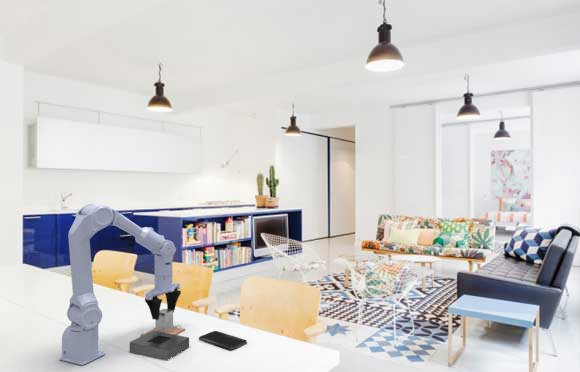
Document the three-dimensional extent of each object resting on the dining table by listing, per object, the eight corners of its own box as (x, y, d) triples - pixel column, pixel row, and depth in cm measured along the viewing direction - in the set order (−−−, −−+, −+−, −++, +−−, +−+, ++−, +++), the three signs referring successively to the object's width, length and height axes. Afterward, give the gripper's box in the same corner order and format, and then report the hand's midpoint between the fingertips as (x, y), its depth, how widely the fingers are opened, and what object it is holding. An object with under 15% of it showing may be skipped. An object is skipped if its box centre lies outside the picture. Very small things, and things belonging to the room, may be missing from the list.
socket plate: (129, 352, 118) (129, 342, 118) (153, 340, 128) (153, 330, 128) (167, 360, 113) (167, 349, 113) (189, 347, 122) (189, 337, 122)
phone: (230, 349, 119) (197, 337, 128) (230, 352, 119) (197, 340, 128) (248, 340, 126) (215, 330, 134) (248, 344, 126) (215, 333, 135)
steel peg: (155, 333, 132) (155, 312, 132) (163, 329, 136) (163, 308, 136) (165, 334, 131) (165, 313, 131) (173, 330, 134) (173, 310, 134)
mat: (140, 336, 131) (140, 334, 131) (161, 326, 140) (161, 324, 140) (165, 340, 127) (165, 339, 127) (185, 330, 136) (185, 328, 136)
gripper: (157, 281, 125) (157, 324, 125) (186, 271, 139) (186, 310, 139) (140, 279, 128) (140, 321, 128) (170, 270, 141) (170, 308, 141)
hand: (163, 315), depth 134 cm, fingers open, 7 cm apart
